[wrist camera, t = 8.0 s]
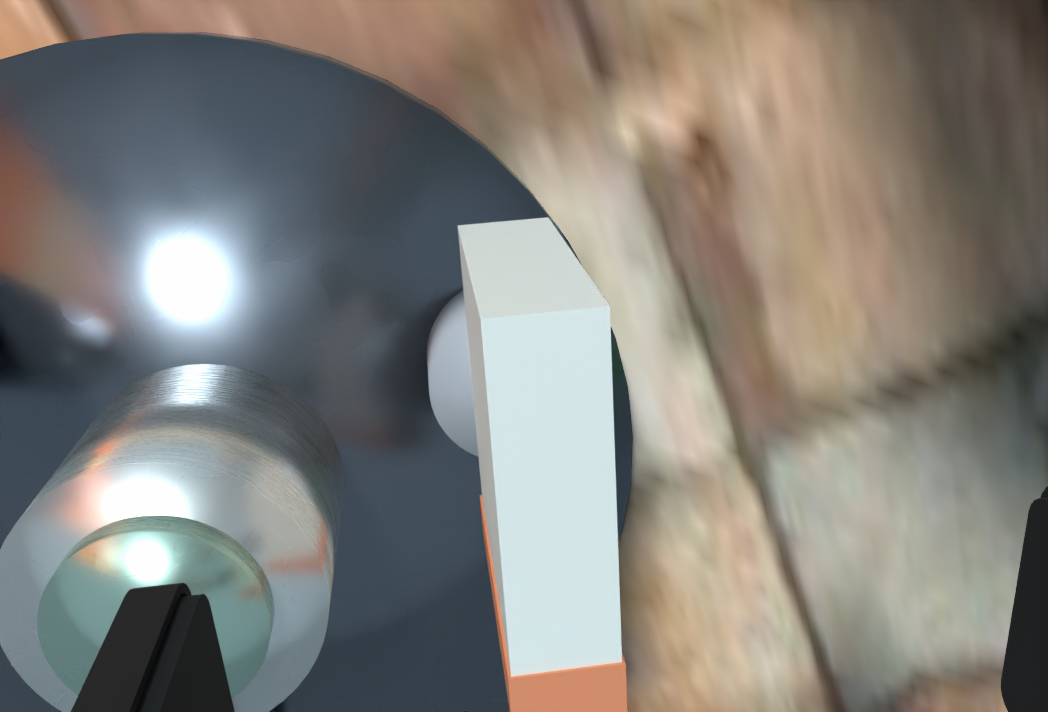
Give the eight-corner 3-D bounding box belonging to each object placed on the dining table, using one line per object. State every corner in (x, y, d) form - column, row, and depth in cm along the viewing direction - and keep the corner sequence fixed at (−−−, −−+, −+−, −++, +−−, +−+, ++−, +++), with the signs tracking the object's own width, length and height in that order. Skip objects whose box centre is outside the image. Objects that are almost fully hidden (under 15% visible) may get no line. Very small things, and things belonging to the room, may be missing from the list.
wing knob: (410, 209, 20) (414, 326, 13) (575, 195, 21) (674, 301, 13) (441, 497, 23) (460, 736, 15) (589, 479, 23) (678, 706, 16)
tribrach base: (605, 0, 21) (706, -6, 14) (630, 721, 28) (705, 959, 21) (-364, 69, 19) (-804, 103, 12) (-79, 820, 26) (-255, 1115, 19)
